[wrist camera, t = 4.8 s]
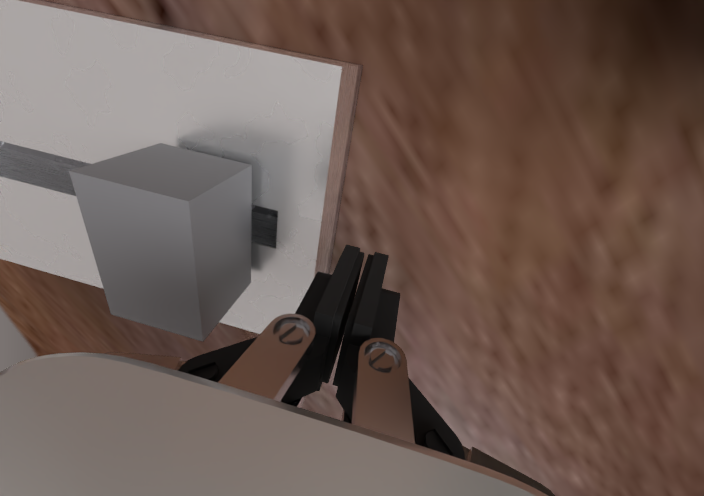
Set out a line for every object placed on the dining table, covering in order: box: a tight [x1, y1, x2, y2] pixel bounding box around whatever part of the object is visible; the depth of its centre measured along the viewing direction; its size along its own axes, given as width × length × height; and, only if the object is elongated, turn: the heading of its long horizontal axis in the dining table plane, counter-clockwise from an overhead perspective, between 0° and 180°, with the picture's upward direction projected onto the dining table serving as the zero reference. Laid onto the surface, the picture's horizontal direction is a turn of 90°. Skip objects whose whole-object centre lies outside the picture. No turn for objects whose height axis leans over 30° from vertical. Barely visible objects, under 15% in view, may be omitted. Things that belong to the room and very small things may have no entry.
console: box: [0, 0, 363, 334], centre depth 18 cm, size 28×14×4 cm, turn 80°
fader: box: [69, 143, 255, 341], centre depth 14 cm, size 4×6×7 cm, turn 170°
